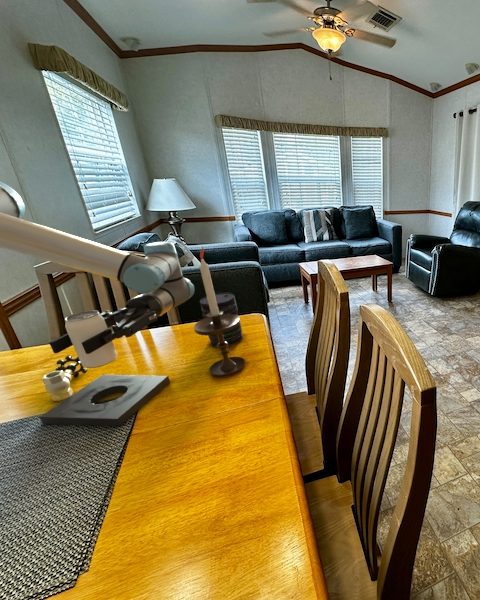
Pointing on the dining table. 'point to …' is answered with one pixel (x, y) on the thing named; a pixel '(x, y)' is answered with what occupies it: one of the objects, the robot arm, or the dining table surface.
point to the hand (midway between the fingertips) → (69, 348)
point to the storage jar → (228, 307)
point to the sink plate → (108, 414)
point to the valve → (62, 379)
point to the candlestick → (218, 328)
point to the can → (84, 329)
